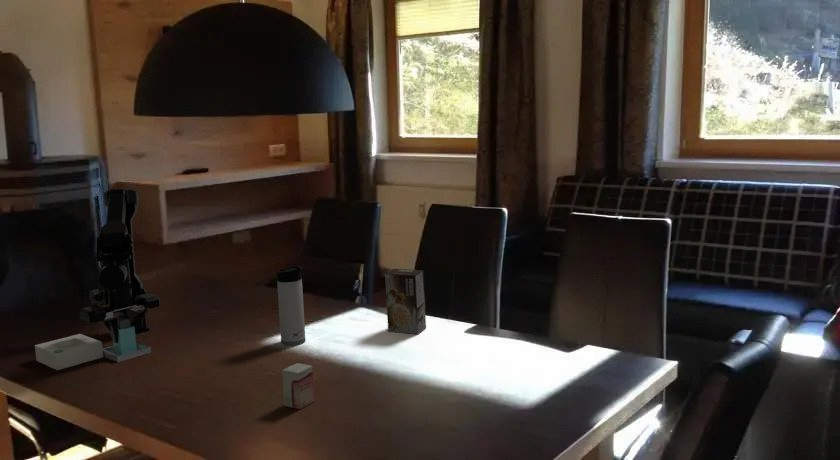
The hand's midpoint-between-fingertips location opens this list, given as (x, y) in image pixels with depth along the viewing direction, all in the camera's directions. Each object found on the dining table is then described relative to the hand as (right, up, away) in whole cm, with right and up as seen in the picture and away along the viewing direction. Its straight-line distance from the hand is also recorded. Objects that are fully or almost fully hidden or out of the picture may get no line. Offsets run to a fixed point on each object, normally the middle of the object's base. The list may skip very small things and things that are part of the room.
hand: (124, 340), depth 195 cm
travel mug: (+42, -1, +6) cm, 42 cm away
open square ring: (0, -3, +1) cm, 4 cm away
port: (-13, -4, -2) cm, 14 cm away
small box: (+50, -8, -35) cm, 61 cm away
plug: (0, -4, +1) cm, 4 cm away
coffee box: (+71, +1, +13) cm, 72 cm away
